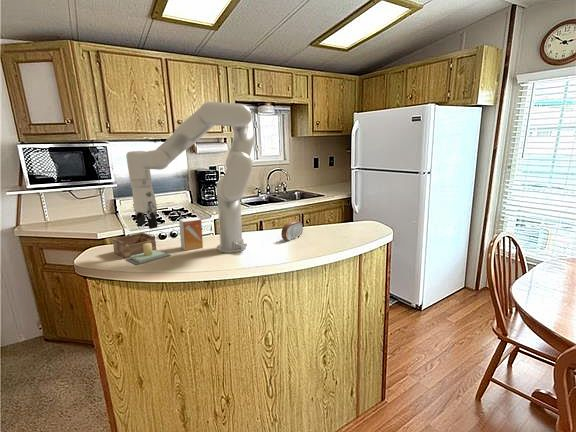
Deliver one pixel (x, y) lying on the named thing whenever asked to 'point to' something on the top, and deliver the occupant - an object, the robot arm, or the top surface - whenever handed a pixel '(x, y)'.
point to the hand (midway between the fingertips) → (147, 226)
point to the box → (132, 244)
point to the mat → (145, 261)
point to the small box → (191, 233)
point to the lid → (148, 254)
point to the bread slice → (292, 230)
